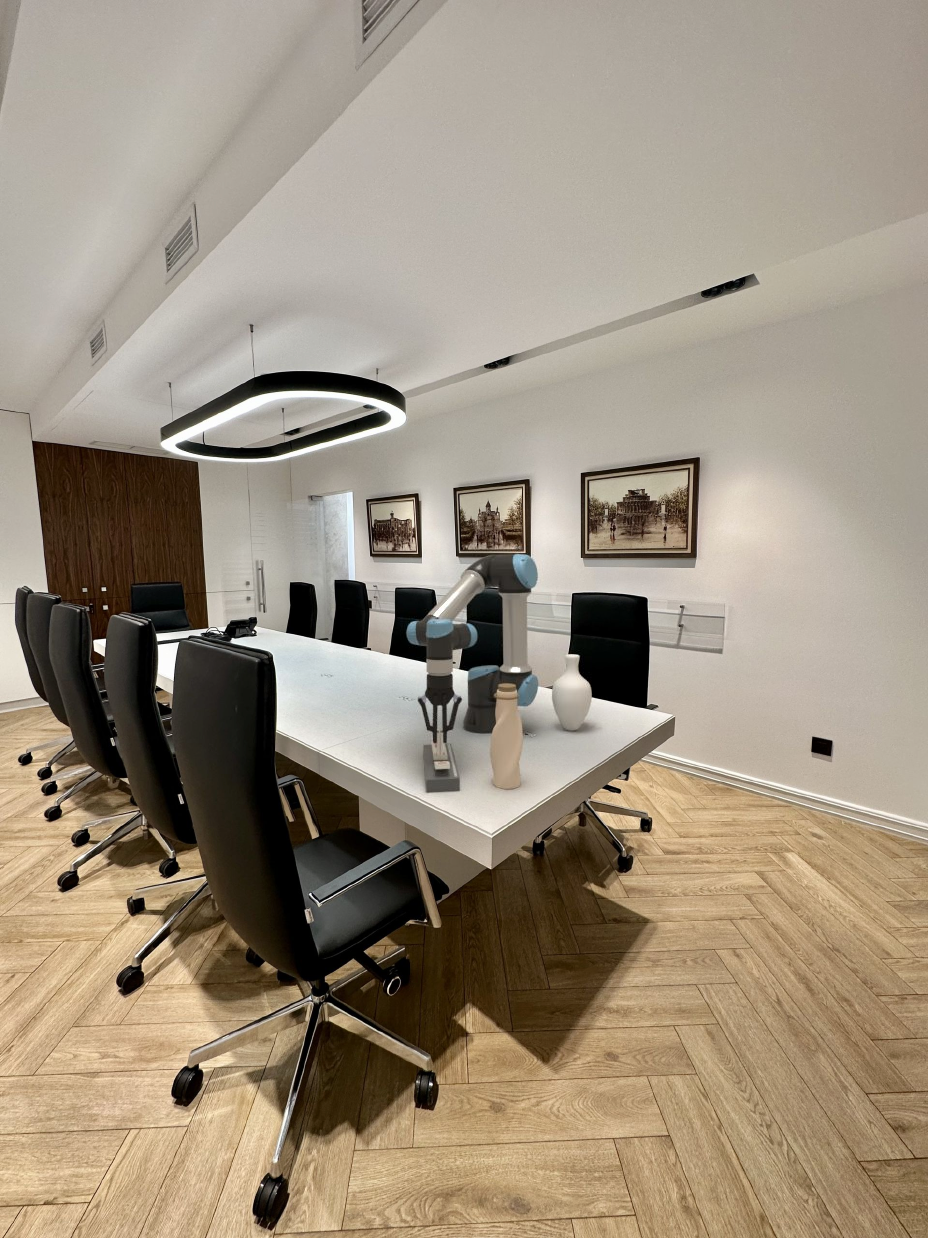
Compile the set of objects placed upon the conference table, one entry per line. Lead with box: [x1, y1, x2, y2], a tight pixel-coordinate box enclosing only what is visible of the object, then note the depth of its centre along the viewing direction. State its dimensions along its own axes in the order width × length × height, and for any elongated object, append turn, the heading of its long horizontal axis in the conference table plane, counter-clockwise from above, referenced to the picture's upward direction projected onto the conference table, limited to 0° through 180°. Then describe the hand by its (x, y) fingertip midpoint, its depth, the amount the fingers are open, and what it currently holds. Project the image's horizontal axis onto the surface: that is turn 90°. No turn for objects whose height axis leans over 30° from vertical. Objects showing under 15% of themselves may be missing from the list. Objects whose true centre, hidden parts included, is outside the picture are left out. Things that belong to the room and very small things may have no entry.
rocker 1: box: [430, 734, 446, 752], centre depth 164 cm, size 4×7×2 cm, turn 6°
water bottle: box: [489, 683, 524, 790], centre depth 146 cm, size 10×9×28 cm
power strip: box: [422, 743, 461, 793], centre depth 159 cm, size 9×37×4 cm, turn 6°
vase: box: [551, 653, 593, 732], centre depth 193 cm, size 14×14×28 cm
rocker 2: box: [433, 747, 448, 760], centre depth 155 cm, size 4×7×2 cm, turn 6°
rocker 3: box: [434, 761, 450, 769], centre depth 146 cm, size 4×7×2 cm, turn 6°
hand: (439, 753), depth 151 cm, fingers closed
